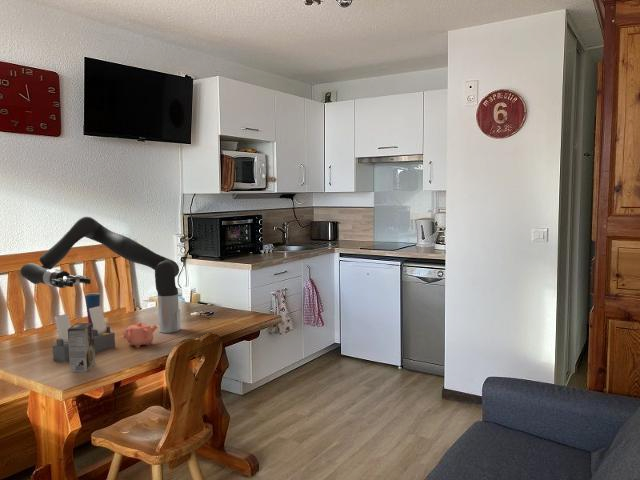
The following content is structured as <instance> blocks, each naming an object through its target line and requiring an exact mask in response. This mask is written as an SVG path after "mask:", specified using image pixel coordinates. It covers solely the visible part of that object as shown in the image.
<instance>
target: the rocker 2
mask: <svg viewBox="0 0 640 480" xmlns="http://www.w3.org/2000/svg"><path fill="white" fill-rule="evenodd" d="M89 311H90V316H91V320H92V323H93V329H94V330H98V334H100V333H103V332H106V331H107V328H106V326H107V324H106V320H105V315H104V311H103V308H102V305H100V306H98V307H94V308H90V309H89Z"/></svg>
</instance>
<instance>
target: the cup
mask: <svg viewBox="0 0 640 480" xmlns="http://www.w3.org/2000/svg"><path fill="white" fill-rule="evenodd" d="M84 298H85V305H86V314H87V323H92V320H91V316H90V311H89V309H90V308H94V307H98V306H101V305H100V304H101V301H100V300H101V299H100V298H101V293H98V292H96V293H94V292H93V293H87V294H85V295H84Z"/></svg>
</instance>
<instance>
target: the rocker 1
mask: <svg viewBox="0 0 640 480" xmlns="http://www.w3.org/2000/svg"><path fill="white" fill-rule="evenodd" d="M54 322H55V326H56V330H57V334H58V339H63V344H65V343H68V342H69V341H68V329H69V328H70V327H72V325H71V321H70V316H69V313H64V314H63V313H62V314H60V315H55V316H54Z"/></svg>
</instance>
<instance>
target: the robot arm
mask: <svg viewBox="0 0 640 480" xmlns="http://www.w3.org/2000/svg"><path fill="white" fill-rule="evenodd" d="M84 238H86V239H89V240H92V241H95V242H97V243H99V244H102V245H103V246H105V247H107V248H108V249H109V250H111V252H113V253H115V254H116V255H117V256H119V257H122V258H124V259H125V260H127V261H129V262H132V263H135V264H139V265H143V266H146V267H148V268H150V269H152V270H153V271H154V281H155V290H156V292H157V310H158V330H159V333H163V334H170V333H178V332H179V331H180V330H181V328H182V326H181V310H180V308H179V307H180V306H179V289H178V287H177V285H176V277H177V276H178V275H179V273H180V267H179V265H178V263H177V262H176V261H175V260H173V259H171V258H168V257H165V256H163V255H161V254H158V253H156V252H154V251H153V250H151V249H149V248H148V247H145V246H144V245H143V244H140V243H139V242H137V241H136V240H134V239H131V238H130V237H128V236H125V235H123V234H121V233H120V234H119V233H116V232H114V231H112V230H110V229H108V228H107V227H105V226H104V225H102V224H101V223H99V221H98V220H96V219H94V218H93V217H91V216H88V215H86V216H82V217H80V218H78V220H76V222H75V223H74V224H73V225H72V226H71V228H70V229H69V230H68V231H67V232H66V233H65V234H64V235H63V237H61V238H60V239H59V240H58V241H57V242H56V243H55V244H54V245H53V246H52V247H50V248H49V249H48V250H47V251H45V252H44V254H42V255H41V256H40V257H39V259H38V260H39V262H40V263H41V264H42V266H41V265H39V264H36V263H33V262H29V263H26V264H24V265H23V266H22V267H21V269H20V275H21V276H22V277H23V278H24V279H26V280H27V281H29V282H30V283H31V284H33V285H38V284H42V285H48V286H51V287H56V288H59V289H63V288H66V287H69V288H72V287H74V285H79V284H85V285H91V279H90V278H89V277H88V276H87V275H80V274H77V275H71V274H70V272H68V271H65V270H63V269H55V268H54V267H55V266H56V265H57V264H59V263H60V262H61V261H62V260H63V259H64V258H65V257H66V256H67V254H68V253H69V252H70V251H71V249H72V248H73V246H75V244H77V243H78V241H80V240H82V239H84Z"/></svg>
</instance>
